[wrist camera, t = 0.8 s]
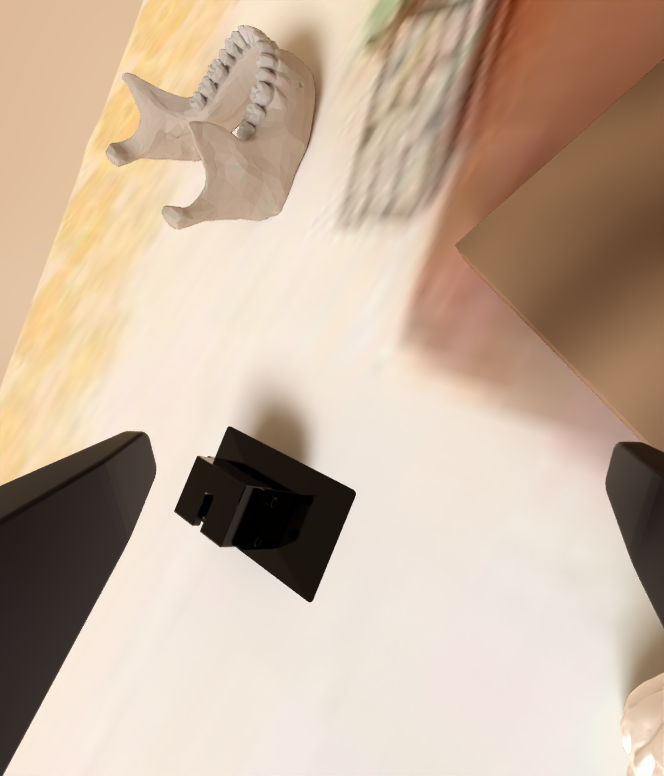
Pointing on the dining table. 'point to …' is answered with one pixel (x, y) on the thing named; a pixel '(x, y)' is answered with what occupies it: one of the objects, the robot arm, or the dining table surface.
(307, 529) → the build plate
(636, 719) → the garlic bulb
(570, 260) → the walnut stand
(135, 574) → the dining table surface
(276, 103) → the anatomical model
